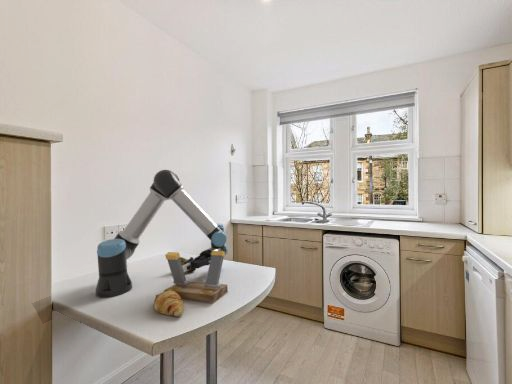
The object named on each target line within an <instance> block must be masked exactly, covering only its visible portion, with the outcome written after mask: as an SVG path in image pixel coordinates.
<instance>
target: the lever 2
mask: <svg viewBox="0 0 512 384" xmlns="http://www.w3.org/2000/svg"><path fill="white" fill-rule="evenodd" d="M211 255H212V256H211V261H210V264H209V265H208V266H209V267H208V272H207V275H206V280H205V282H204V283H205V284H204V287H211V288H219V284H220V277H221V274H222V273H221V272H222V268H223V267H222V266H223V262H224V257H225V256H226V255H225V252H224V251H212V253H211Z"/></svg>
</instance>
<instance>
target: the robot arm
mask: <svg viewBox="0 0 512 384" xmlns="http://www.w3.org/2000/svg"><path fill="white" fill-rule="evenodd" d="M169 200H171V201H173V203H174V204H175V205H176V206H177V207H178V208H179V209H180V210H181V211H182V212H183V213H184V214H185V215H186V217H188V218H189V219H190V220H191V222H193V224H194V225H196V227H198V229H199V230H200V231H201V232H202V233H203V235H205V236H206V237H207V238H208V239H209V240H210V247H209V248H207V249H205V250H202V251H201V252H200V253H199V255H198V256H196V257H195V258H194V257H192V256H190V257H189V259H187V261H186V262H184V265H183V266H182V267H183V271H184V272H186V271H188V270H190V269H194V268H196V270H197V269H200V268H202V267H205V266H209V265H210V261H211V256H212V255H211V253H212V251H224V252H225V256H226V255H227V254H228V252H229V248H228V246H227V245H226V243H227V240H228V237H227V234H226V233H225V230H224V224H223V223H215V221H214V220H213V219H212V218H211V217H210V216H209V215H208V213H206V211H204V209H202V207H201V206H199V204H198V203H197V202H196V201H195V200H194V199H193V198H192V197H191V195H190V194H188V192H187V191H186V190H185V189H184V185H183V184H182V183H181V182H180V178H179V176H178V175H177V174H176V173H175V172H174V171H172V170H169V169H161V170H159V171H158V172H157V173H155V175H154V177H153V183H152V184H151V186H150V187H149V194H148V195H147V196H146V198H145V199H144V200H143V202H142V203H141V204H140V206H139V208H138V210H136V212H135V214H134V215H133V217H132V218H131V220H130V221H129V223H127V224H126V227H125V228H124V229H123V230H121V231H119V232H118V233H117V234H116V236H114V238H113V239H107V240H104V241H101V242H100V243H98V244H97V250H96V254H97V266H98V280H97V283H96V286H95V296H96V297H97V296H99V297H98V298H110V297H111V298H112V297H115V296H119V295H123V294H125V293H127V292H129V291H131V290H132V289H133V282H132V280H131V277H130V276H129V273H128V265H127V260H129V259H130V258H131V257H132V256H133V255H134V253H135V251H136V249H137V248H138V246H139V244H140V238H141V236H142V235H143V233H144V232H145V231H146V229H147V228H148V226H149V224H150V223H151V221H153V219H154V217H155V216H156V214H157V213H158V211H159V210H160V209H161V207H162V205H163V204H164V202H165V201H169Z"/></svg>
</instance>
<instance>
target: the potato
mask: <svg viewBox="0 0 512 384" xmlns="http://www.w3.org/2000/svg"><path fill="white" fill-rule="evenodd" d="M187 260H188V259H187V258H185V257H181V256H180V261H181V264H182V266H183V265H184V262H186V261H187ZM196 270H197V269H196V268H194V269H190V270H188V271H186V272H184V274H190V273H193V272H195V271H196Z"/></svg>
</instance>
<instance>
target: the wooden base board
mask: <svg viewBox="0 0 512 384" xmlns="http://www.w3.org/2000/svg"><path fill="white" fill-rule="evenodd" d="M187 281H188V284H187V285H181V284H173V285H171V286H169V287H167V288H165V289H164V291H163V292H165V291H167V290H170V291H174V292H177V293H178V294H179V296H180V298H181V300H182V301H183V300H184V301H191V302H192V301H193V302H201V303H206V304H207V303H209V304H214V303H215V302H217V301H218V300H219V299H220V298H222V297H223V296H224V295H225V294H227V293H228V284H223V283H219V288H211V287H204V284H205V283H206V282H202V281H192V280H187Z"/></svg>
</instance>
